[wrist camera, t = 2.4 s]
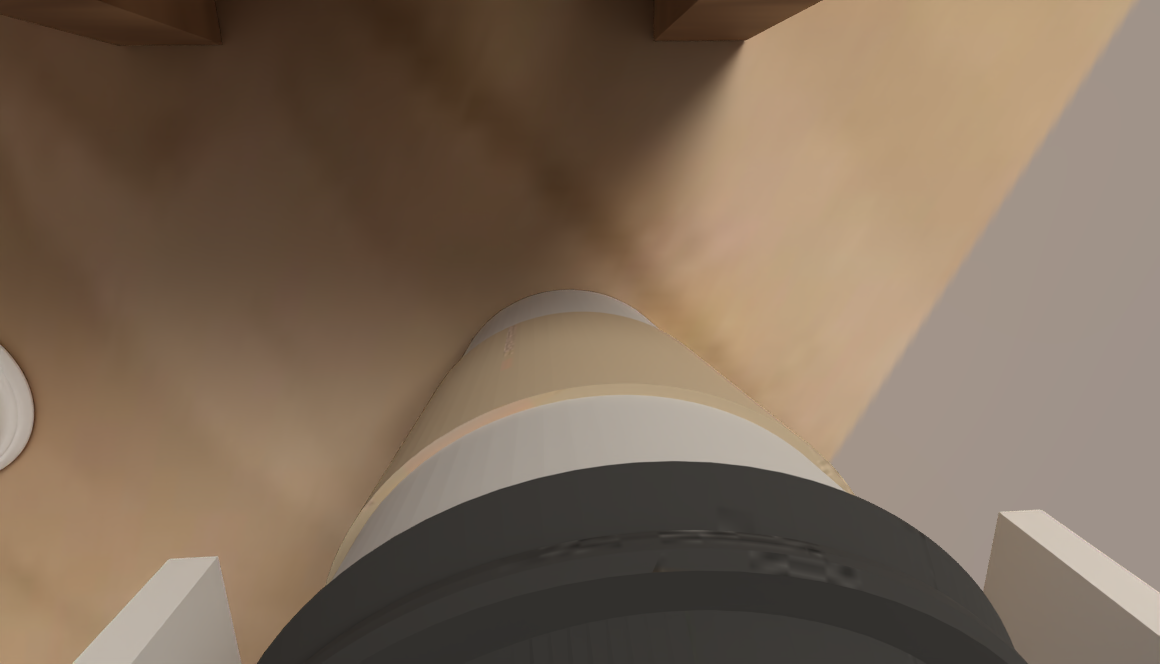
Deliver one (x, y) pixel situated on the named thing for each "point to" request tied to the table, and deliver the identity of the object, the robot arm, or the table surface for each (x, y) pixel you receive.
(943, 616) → the coffee cup
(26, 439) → the candle
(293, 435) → the table surface
